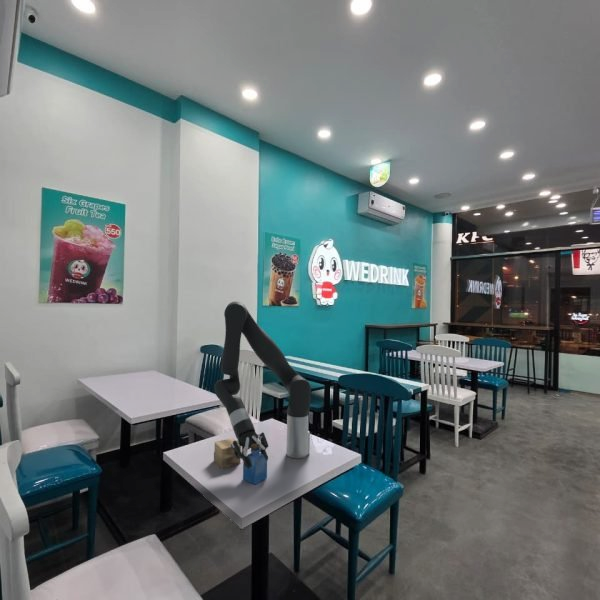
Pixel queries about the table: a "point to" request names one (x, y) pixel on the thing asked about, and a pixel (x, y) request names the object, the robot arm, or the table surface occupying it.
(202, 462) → the table surface
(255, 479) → the perfume bottle
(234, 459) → the tower bottom block
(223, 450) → the tower top block
